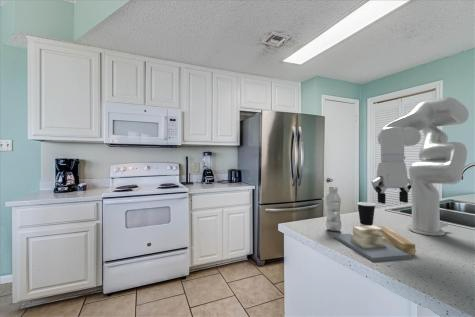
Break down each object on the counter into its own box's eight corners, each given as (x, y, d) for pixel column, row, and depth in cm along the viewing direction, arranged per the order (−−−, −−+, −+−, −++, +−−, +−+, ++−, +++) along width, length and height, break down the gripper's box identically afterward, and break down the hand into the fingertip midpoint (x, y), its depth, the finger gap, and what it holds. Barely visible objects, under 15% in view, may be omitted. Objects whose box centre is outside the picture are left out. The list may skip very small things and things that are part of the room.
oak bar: (386, 235, 95) (386, 226, 95) (415, 256, 75) (415, 244, 75) (376, 235, 96) (376, 226, 96) (402, 255, 76) (402, 243, 76)
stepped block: (371, 239, 87) (371, 224, 87) (385, 246, 80) (385, 229, 80) (350, 240, 86) (350, 225, 86) (363, 248, 79) (363, 231, 79)
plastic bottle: (343, 233, 97) (342, 188, 97) (327, 232, 99) (326, 188, 99) (339, 228, 104) (339, 186, 104) (324, 228, 105) (324, 186, 105)
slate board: (363, 235, 95) (363, 232, 95) (410, 258, 73) (410, 254, 73) (333, 237, 93) (333, 234, 93) (372, 261, 71) (372, 257, 71)
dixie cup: (378, 228, 103) (378, 205, 103) (360, 228, 105) (360, 205, 105) (371, 223, 111) (371, 202, 111) (354, 223, 113) (354, 201, 113)
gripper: (403, 158, 90) (403, 200, 90) (365, 159, 88) (365, 201, 88) (420, 158, 83) (421, 203, 83) (379, 159, 81) (380, 205, 80)
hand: (392, 202), depth 85 cm, fingers open, 9 cm apart
